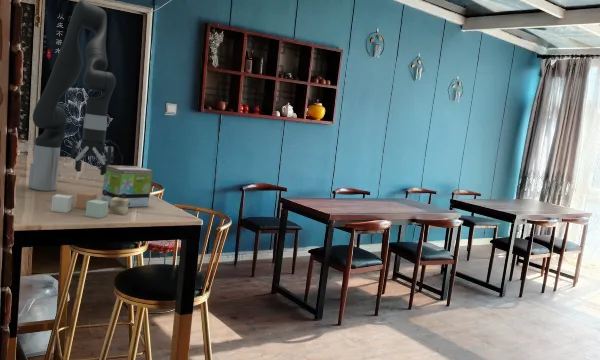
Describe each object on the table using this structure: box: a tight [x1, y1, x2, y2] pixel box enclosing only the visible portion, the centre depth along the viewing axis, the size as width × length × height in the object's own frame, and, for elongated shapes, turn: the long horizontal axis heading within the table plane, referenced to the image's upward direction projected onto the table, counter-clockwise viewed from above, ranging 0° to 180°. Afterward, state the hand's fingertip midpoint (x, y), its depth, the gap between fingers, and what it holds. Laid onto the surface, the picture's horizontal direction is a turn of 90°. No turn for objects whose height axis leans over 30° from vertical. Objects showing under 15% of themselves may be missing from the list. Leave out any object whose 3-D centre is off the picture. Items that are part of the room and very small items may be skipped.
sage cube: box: [84, 199, 109, 219], centre depth 175 cm, size 5×5×5 cm
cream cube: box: [50, 193, 73, 214], centre depth 175 cm, size 5×5×5 cm
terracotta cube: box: [75, 191, 98, 210], centre depth 185 cm, size 5×5×5 cm
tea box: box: [100, 164, 154, 208], centre depth 199 cm, size 15×10×15 cm, turn 148°
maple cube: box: [109, 197, 129, 216], centre depth 185 cm, size 5×5×5 cm
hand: (90, 173), depth 184 cm, fingers open, 8 cm apart
